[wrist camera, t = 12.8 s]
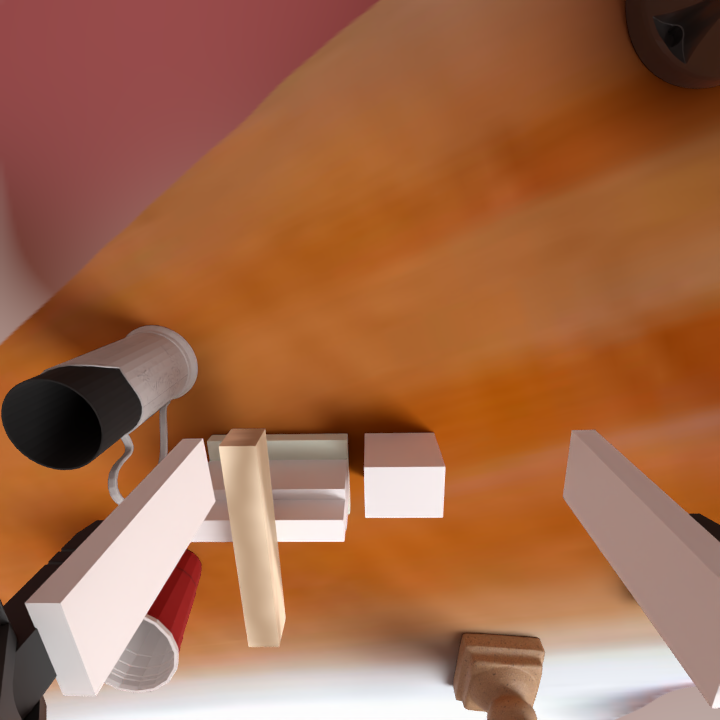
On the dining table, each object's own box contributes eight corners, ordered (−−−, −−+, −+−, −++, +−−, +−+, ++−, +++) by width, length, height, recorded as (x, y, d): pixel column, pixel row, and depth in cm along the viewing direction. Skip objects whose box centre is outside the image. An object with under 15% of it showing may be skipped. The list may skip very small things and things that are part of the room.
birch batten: (265, 428, 34) (255, 445, 31) (285, 617, 40) (279, 646, 37) (231, 428, 34) (218, 446, 31) (257, 618, 40) (248, 646, 37)
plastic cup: (191, 518, 49) (136, 603, 37) (235, 578, 52) (197, 675, 40) (122, 547, 50) (50, 637, 39) (169, 604, 53) (114, 704, 42)
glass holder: (174, 314, 41) (70, 354, 27) (231, 427, 45) (167, 515, 31) (104, 340, 42) (-33, 392, 28) (165, 449, 46) (73, 543, 32)
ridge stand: (347, 433, 45) (341, 486, 35) (350, 505, 48) (345, 572, 38) (211, 434, 45) (169, 487, 36) (222, 506, 48) (186, 572, 39)
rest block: (433, 432, 44) (445, 466, 38) (432, 477, 46) (442, 517, 40) (364, 433, 45) (363, 467, 38) (365, 477, 46) (365, 517, 40)
